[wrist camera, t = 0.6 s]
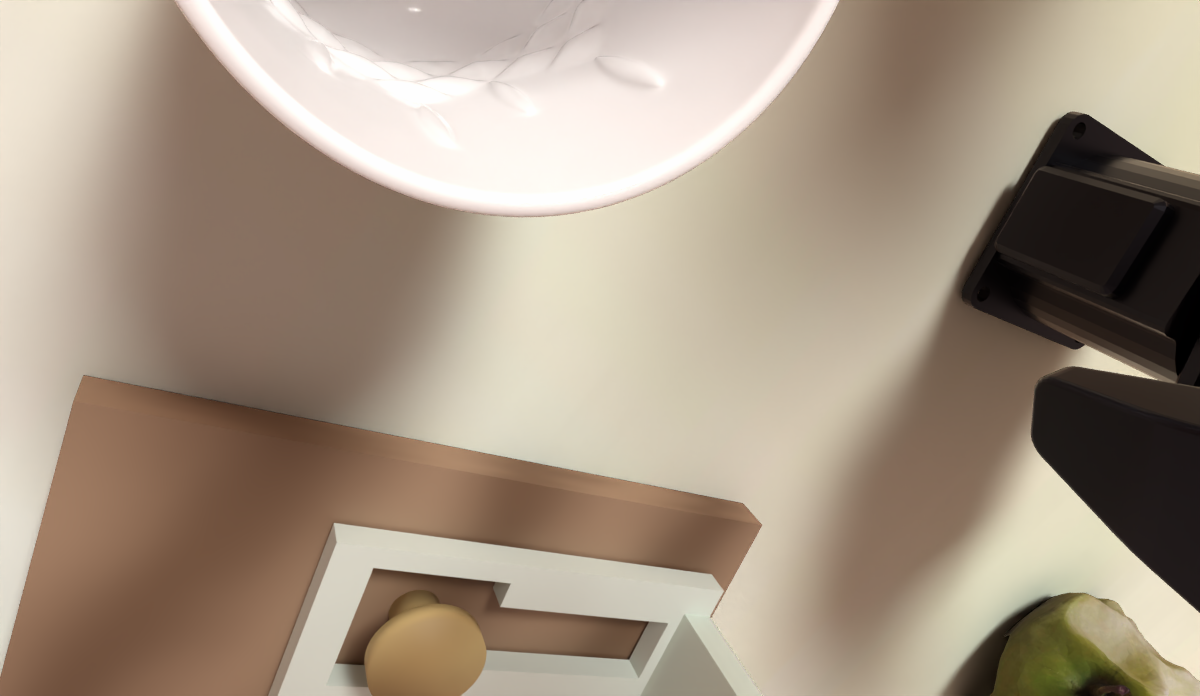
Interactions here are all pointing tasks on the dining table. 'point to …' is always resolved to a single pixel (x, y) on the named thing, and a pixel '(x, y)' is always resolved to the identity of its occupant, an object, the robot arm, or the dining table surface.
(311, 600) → the panel
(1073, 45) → the dining table surface
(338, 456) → the board
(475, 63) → the white cup
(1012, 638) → the fruit
